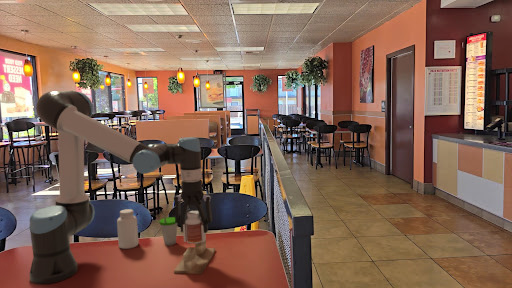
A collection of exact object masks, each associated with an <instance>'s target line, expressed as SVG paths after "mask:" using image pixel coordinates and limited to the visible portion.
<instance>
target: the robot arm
mask: <svg viewBox="0 0 512 288" xmlns="http://www.w3.org/2000/svg"><path fill="white" fill-rule="evenodd" d="M35 106H36V107H35V109H36V113H37V116H38V118H39V119H40V120H41V121H42V122H43V123H44V124H45V125H46V126H49V127H51V128H53V129H54V130H55V131H57V136H58V137H57V138H58V139H57V140H58V141H57V142H58V172H59V173H58V175H59V176H58V178H59V179H58V180H59V195H58V196H56V198H55V205H51V206H50V205H49V206H46V207H43V208H39V209H38V210H36V211H34V212H33V213H32V214H31V215H30V217H29V227H28V228H29V231H30V233H29V234H30V240H31V241H30V242H31V247H32V255H33V257H32V261H31V265H30V269H29V270H30V271H29V281H30V282H31V283H33V284H36V285H49V284H54V283H59V282H61V281H64V280H67V279H69V278H71V277H72V276H74V275H75V274H76V273H77V272H78V262H77V261H76V259H75V257H74V254H73V252H72V250H71V244H70V238H71V237H73V236H74V235H75V234H77V233H78V232H80V231H83V230H84V229H86V228H87V227H88V226H89V225H90V224H91V223H92V222H93V220H94V218H95V207H94V204H92V202H91V200H90V197H89V195H88V194H86V193H85V148H84V145H85V144H84V143H85V142H84V141H86V142H88V143H89V144H91V145H93V146H96V147H98V148H100V149H102V150H104V151H105V152H107V153H109V154H111V155H113V156H116V157H118V158H120V159H121V160H123V161H125V162H127V163H129V164H131V165H132V167H133V168H134V170H135V171H136V172H138V173H140V174H142V175H143V174H144V175H147V174H150V173H153V172H156V170H159V168H162V167H164V166H166V165H179V166H180V180H181V182H180V184H181V194H179V195H178V194H176V195H175V196H174V197H173V200H174V205H175V206H174V211H175V212H174V217H175V222H176V223H177V224H179V225H180V232H181V233H182V234H183V242H184V243H186V242H187V240H186V224H185V221H186V219H187V212H189V209H190V206H195V208H196V209H197V211H198V212H199V214H200V216H199V217H201V220H202V225H201V233H202V242H205V240H206V241H207V235H206V234H207V233H208V231H209V225H208V224H211V223H212V221H213V213H212V204H211V201H212V200H211V199H212V196H211V195H206V194H205V193H204V192H203V181H202V178H203V175H202V174H203V173H202V154H201V151H202V149H201V144H200V143H201V142H200V139H199V138H198V137H197V136H196V137H195V136H190V137H189V136H188V137H181V138H179V139H178V142H176V143H152V144H151V143H150V144H148V145H145V144H144V143H141V142H140V141H138V140H136V139H134V138H132V137H130V136H128V135H126V134H125V133H123V132H120V131H118V130H116V129H114V128H113V127H110V126H108V125H106V124H104V123H102V122H100V121H99V120H96V119H95V118H92V116H93V113H94V105H93V102H92V99H90V97H89V96H87V94H85V93H83V92H80V91H75V90H53V91H52V90H51V91H47V92H45V93H43V94H42V95H40V97H39V98H38V99H37V102H36V105H35ZM181 200H183V202H184V205H183V210H182V209H181V208H182V206H181ZM202 200H204V202H205V204H204V206H205V210H206V211H205V210H204V207H203V203H202ZM181 210H182V211H181ZM181 212H182V213H181ZM205 212H206V213H205Z"/></svg>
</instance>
